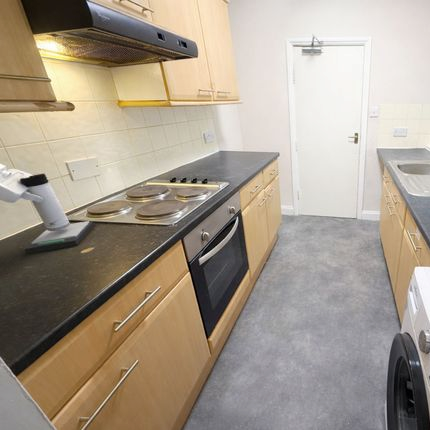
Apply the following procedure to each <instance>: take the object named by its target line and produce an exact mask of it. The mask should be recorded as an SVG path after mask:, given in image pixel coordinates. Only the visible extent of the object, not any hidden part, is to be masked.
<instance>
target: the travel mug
mask: <svg viewBox="0 0 430 430" xmlns="http://www.w3.org/2000/svg"><path fill="white" fill-rule="evenodd" d="M32 175H33V176H29V177H27V178H21V179H20V181H21V183H22V184H24V186H26V187H27V188H28V190H27V192H29V193H30V194H33V195H37V196H38V195H39V196H42V197H44V200H43V201H42V202H41V203H39V202H36V201H32V200H30V201H31V203H32V205H33V206H34V209H35V210H36V212H37V214H38V216H39V217H40V219H41V221H42V224H44V226H45V228H46V230H48V231H57V230H61V229H64V228H66V227H68V226H69V225H70V224H71V223H70V220H69V219H68V216H67V215H66V212H65V211H64V209H63V207H62V205H61V202H60V201H59V199H58V197H57V195H56V193H55V190H54V189H53V187H52V185H51V183H50V181H49V179H48V178H47V175H46V173H38V174H32Z"/></svg>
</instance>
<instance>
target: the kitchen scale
mask: <svg viewBox="0 0 430 430" xmlns="http://www.w3.org/2000/svg"><path fill="white" fill-rule="evenodd" d="M95 226H96V225H95V223H94V221H90V220H86V221H81V222H75V223H70V225H69V226H68V227H66V228H64V229H61V230H57V231H48V230H47V229H46V230H44V232H42V233H41V234H40V235H39V236H38V237H36V238H35V239H34V240H33V241H32V242H31V243H30V244H28V245H27V246H26V247H25V248H24V251H25V253H26V254H27V255H30V254H34V253H40V252H47V251H52V250H57V249H65V248H69V247H74V246H79V244H80V243H81V242H82V241H83V240H84V239H85V238H86V236H87V235H88V234H89V233H90V232H91V230H92V229H93V228H94V227H95Z"/></svg>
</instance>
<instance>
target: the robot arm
mask: <svg viewBox="0 0 430 430" xmlns="http://www.w3.org/2000/svg"><path fill="white" fill-rule="evenodd" d="M33 175H34V174H31V173H29V172H26V171H23V170H20V169H19V168H18V169H17V168H8V165H5V164H2V163H0V201H3V202H5V203H13V204H14V203H16V202H17V201H18V200H20V199H23V200H25V201H31V200H32V201H36V202H39V203H41V202H42V201H43V200H44V197H42V196H39V195H38V196H37V195H33V194H30V193H29V192H27V190H28V188H27V187H26V186H24V184H22V183H21V181H20V179H21V178H27V177H29V176H33ZM32 201H31V202H32Z"/></svg>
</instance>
